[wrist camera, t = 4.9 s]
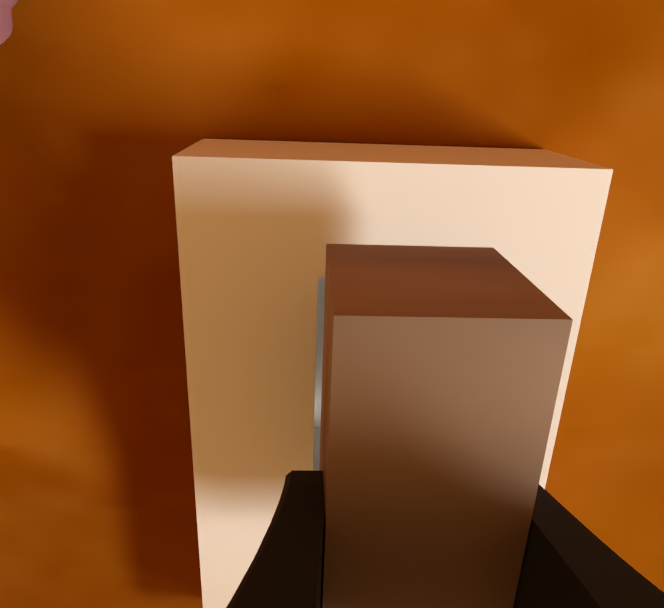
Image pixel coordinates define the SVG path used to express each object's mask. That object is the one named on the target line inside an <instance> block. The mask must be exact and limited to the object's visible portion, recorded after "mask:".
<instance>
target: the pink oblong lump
mask: <svg viewBox="0 0 664 608" xmlns="http://www.w3.org/2000/svg"><path fill="white" fill-rule="evenodd" d="M17 1H18V0H0V45H1V44H2V43H4V42H5V41H6V40H7V39H8V38H9V36H10V35H11V33H12V30H13V23H12V12H11V9H12V8H13V7H14V5H15V4H16V3H17Z"/></svg>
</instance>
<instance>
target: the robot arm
mask: <svg viewBox="0 0 664 608" xmlns="http://www.w3.org/2000/svg"><path fill="white" fill-rule="evenodd" d="M324 519H325V497H324V481H323V471H311V470H292V471H291V472H289V473H288V474H287V475H286V477H285V483H284V487H283V490H282V494H281V497H280V500H279V503H278V505H277V508H276V511H275V513H274V516H273V518H272V521H271V523H270V525H269V527H268V529H267V532H266V534H265V536H264V538H263V540H262V542H261V544H260V547H259V549H258V551H257V553H256V555H255V557H254V559H253V561H252V563H251V565H250V566H249V568H248V570H247V572H246V574H245V575H244V577H243V579H242V581H241V583H240V585H239V586H238V588H237V590H236V592H235V594H234V595H233V597H232V599H231V600H230V602H229V604H228V605H227V607H226V608H321V599H322V573H323V546H324ZM513 608H664V593H663V592H662V591H661V590H660V589H658V588H657V587H656V586H655V585H653V584H652V583H651V582H650V581H648V580H647V579H646V578H645V577H643V576H642V575H641V574H640V573H638V572H637V571H636V570H635V569H634V568H632V567H631V566H630V565H629V564H628V563H626V562H625V561H624V560H623V559H622V558H620V557H619V556H618V555H617V554H616V553H615V552H613V551H612V550H611V549H610V548H609V547H608V546H607V545H605V544H604V543H603V542H602V541H601V540H600V539H599V538H597V537H596V536H595V535H594V534H593V533H592V532H591V531H590V530H588V529H587V528H586V527H585V526H584V525H583V524H582V523H581V522H580V521H579V520H577V519H576V518H575V517H574V516H573V515H572V514H571V513H570V512H569V511H568V510H567V509H565V508H564V507H563V506H562V505H561V504H560V503H559V502H558V501H557V500H556V499H555V498H553V497H552V496H551V495H550V494H549V493H548V492H547V491H546V490H545V489H544V488H543V487H542V486H540V485H538V490H537V495H536V499H535V504H534V509H533V514H532V519H531V523H530V528H529V533H528V538H527V543H526V547H525V552H524V557H523V562H522V567H521V571H520V576H519V581H518V586H517V591H516V595H515V600H514V605H513Z"/></svg>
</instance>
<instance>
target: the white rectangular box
mask: <svg viewBox="0 0 664 608" xmlns="http://www.w3.org/2000/svg"><path fill="white" fill-rule="evenodd" d="M172 166H173V180H174V195H175V209H176V224H177V238H178V253H179V268H180V282H181V297H182V311H183V326H184V340H185V355H186V369H187V384H188V398H189V413H190V427H191V442H192V457H193V471H194V486H195V500H196V515H197V529H198V544H199V558H200V573H201V587H202V602H203V608H226V607H227V605H228V604H229V602H230V600H231V599H232V597H233V595H234V594H235V592H236V590H237V588H238V586H239V585H240V583H241V581H242V579H243V577H244V575H245V574H246V572H247V570H248V568H249V566H250V565H251V563H252V561H253V559H254V557H255V555H256V553H257V551H258V549H259V547H260V544H261V542H262V540H263V538H264V536H265V534H266V532H267V529H268V527H269V525H270V523H271V521H272V518H273V516H274V513H275V511H276V508H277V505H278V503H279V500H280V497H281V494H282V490H283V487H284V483H285V477H286V475H287V474H288V473H289V472H291V471H292V470H311V471H319V458H320V426H321V394H322V363H323V331H324V299H325V267H326V244H363V245H406V246H449V247H492V248H494V249H496V250H497V251H498V252H499V253H500V254H501V255H502V256H503V257H504V258H505V259H507V260H508V261H509V262H510V263H511V264H512V265H513V266H514V267H515V268H517V269H518V270H519V271H520V272H521V273H522V274H523V275H524V276H525V277H526V278H528V279H529V280H530V281H531V282H532V283H533V284H534V285H535V286H536V287H537V288H539V289H540V290H541V291H542V292H543V293H544V294H545V295H546V296H547V297H548V298H550V299H551V300H552V301H553V302H554V303H555V304H556V305H557V306H558V307H560V308H561V309H562V310H563V311H564V312H565V313H566V314H567V315H568V316H569V317H571V318H572V319H573V322H572V326H571V331H570V336H569V341H568V346H567V350H566V355H565V360H564V365H563V370H562V374H561V379H560V384H559V389H558V394H557V398H556V403H555V408H554V413H553V418H552V423H551V427H550V432H549V437H548V442H547V447H546V451H545V456H544V461H543V466H542V471H541V475H540V480H539V485H540V486H542V487H543V488H544V489H545V485H546V481H547V476H548V471H549V467H550V462H551V457H552V453H553V448H554V443H555V439H556V434H557V429H558V425H559V420H560V415H561V411H562V406H563V401H564V397H565V392H566V387H567V383H568V378H569V373H570V369H571V364H572V359H573V355H574V350H575V345H576V341H577V336H578V332H579V327H580V322H581V318H582V313H583V308H584V304H585V299H586V294H587V290H588V285H589V280H590V276H591V271H592V266H593V262H594V257H595V252H596V248H597V243H598V238H599V234H600V229H601V224H602V220H603V215H604V210H605V206H606V201H607V196H608V192H609V187H610V182H611V178H612V173H613V169H610V168H607V167H604V166H600V165H597V164H593V163H590V162H587V161H583V160H580V159H576V158H573V157H570V156H566V155H563V154H559V153H556V152H553V151H549V150H546V149H517V148H486V147H454V146H423V145H391V144H359V143H328V142H296V141H265V140H233V139H202V140H200V141H198V142H196V143H195V144H193V145H191V146H189V147H187V148H186V149H184V150H182V151H180V152H178V153H176V154H175V155H173V156H172Z"/></svg>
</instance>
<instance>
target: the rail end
mask: <svg viewBox="0 0 664 608" xmlns="http://www.w3.org/2000/svg"><path fill="white" fill-rule="evenodd" d="M572 322H573V319H572V318H571V317H569V316H568V315H567V314H566V313H565V312H564V311H563V310H562V309H561V308H560V307H558V306H557V305H556V304H555V303H554V302H553V301H552V300H551V299H550V298H548V297H547V296H546V295H545V294H544V293H543V292H542V291H541V290H540V289H539V288H537V287H536V286H535V285H534V284H533V283H532V282H531V281H530V280H529V279H528V278H526V277H525V276H524V275H523V274H522V273H521V272H520V271H519V270H518V269H517V268H515V267H514V266H513V265H512V264H511V263H510V262H509V261H508V260H507V259H505V258H504V257H503V256H502V255H501V254H500V253H499V252H498V251H497V250H496V249H494V248H492V247H449V246H406V245H363V244H326V267H325V299H324V331H323V363H322V394H321V426H320V458H319V471H323V481H324V497H325V519H324V546H323V573H322V599H321V608H513V605H514V600H515V595H516V591H517V586H518V581H519V576H520V571H521V567H522V562H523V557H524V552H525V547H526V543H527V538H528V533H529V528H530V523H531V519H532V514H533V509H534V504H535V499H536V495H537V490H538V485H539V480H540V475H541V471H542V466H543V461H544V456H545V451H546V447H547V442H548V437H549V432H550V427H551V423H552V418H553V413H554V408H555V403H556V398H557V394H558V389H559V384H560V379H561V374H562V370H563V365H564V360H565V355H566V350H567V346H568V341H569V336H570V331H571V326H572Z"/></svg>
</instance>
